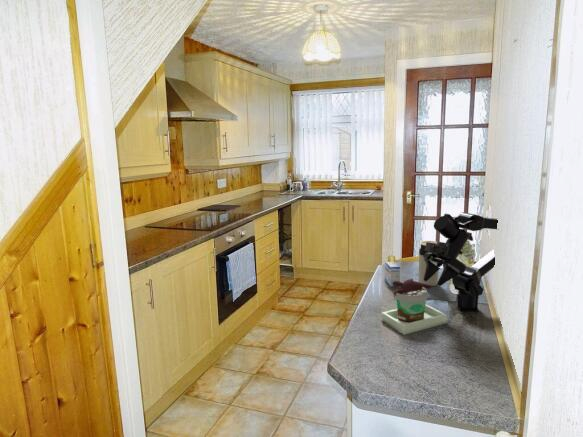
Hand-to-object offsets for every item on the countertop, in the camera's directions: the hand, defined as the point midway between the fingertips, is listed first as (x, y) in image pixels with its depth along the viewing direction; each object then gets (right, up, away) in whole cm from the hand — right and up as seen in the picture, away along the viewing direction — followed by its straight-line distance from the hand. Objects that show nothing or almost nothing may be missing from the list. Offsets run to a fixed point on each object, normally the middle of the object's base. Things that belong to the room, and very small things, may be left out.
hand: (431, 283), depth 146 cm
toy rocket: (0, -9, +23) cm, 25 cm away
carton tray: (-6, -13, -1) cm, 15 cm away
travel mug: (+10, -6, +35) cm, 37 cm away
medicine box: (-5, -6, +37) cm, 38 cm away
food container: (-6, -13, -1) cm, 14 cm away
